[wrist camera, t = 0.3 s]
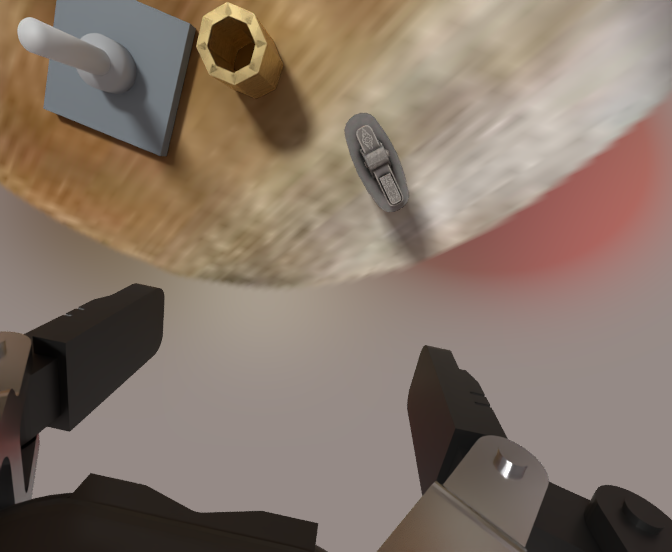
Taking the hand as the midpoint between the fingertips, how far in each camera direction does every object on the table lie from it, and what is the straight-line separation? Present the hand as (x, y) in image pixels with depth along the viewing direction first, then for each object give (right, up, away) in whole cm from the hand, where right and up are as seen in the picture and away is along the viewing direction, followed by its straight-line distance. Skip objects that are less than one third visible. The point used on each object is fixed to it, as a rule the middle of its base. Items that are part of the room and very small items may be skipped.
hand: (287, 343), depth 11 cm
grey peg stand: (-19, +22, +23) cm, 37 cm away
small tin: (+5, +13, +25) cm, 28 cm away
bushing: (-6, +22, +23) cm, 32 cm away
